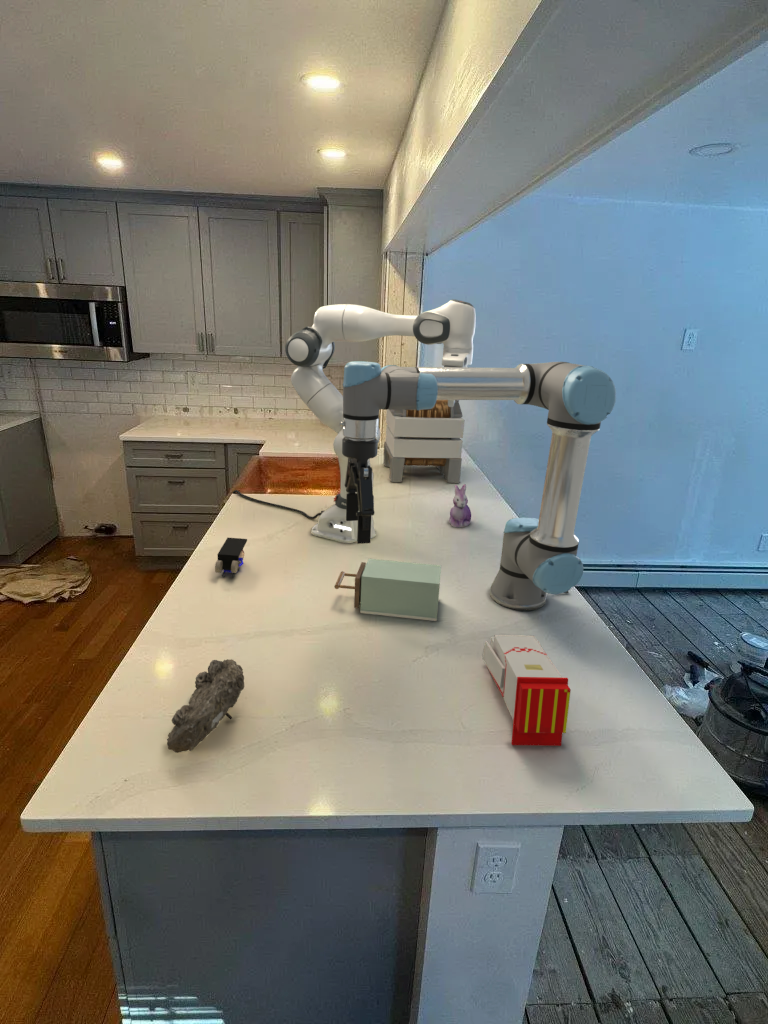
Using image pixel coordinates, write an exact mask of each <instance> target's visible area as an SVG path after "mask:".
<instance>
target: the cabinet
mask: <svg viewBox="0 0 768 1024" xmlns="http://www.w3.org/2000/svg"><path fill="white" fill-rule="evenodd" d="M441 573H442V565H441V564H430V563H420V562H409V561H402V560H401V561H400V560H390V559H389V560H388V559H378V558H368V559H367V561H366V567H365V569H364V572H363V574H362V581H361V603H360V614H366V615H375V616H386V617H394V618H403V619H404V618H406V619H414V620H421V621H422V620H424V621H433V622H437V620H438V611H439V601H440V599H439V598H440V588H441V587H440V586H441V576H442V575H441Z"/></svg>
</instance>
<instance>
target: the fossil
mask: <svg viewBox="0 0 768 1024" xmlns="http://www.w3.org/2000/svg"><path fill="white" fill-rule="evenodd" d="M243 670H244V669H243V667H242V665H240V664H237V662H236V661H235V660H234V659H232V658H231V659H227V658H226V659H224V660H223V661H222V660H217V659H212V660H211V661H210V663H209V665H208V666H207V671H201V672H199V673H198V674H197V675H196V676H195V680H194V684H195V685H194V687H195V689H194V690H193V693H192V694H191V697H190V698H189V700H188V704H184V705H182V706H181V707H180V709H177V710H176V711H175V713H174V715H173V716H172V718H171V723H172V724H173V727H172V730H171V731H170V732H168V734H167V738H166V741H167V742H166V745H167V749H168V750H169V751H173V752H174V753H176V754H178V753H182V752H188V751H189V752H192V751H193V750H195V748H196V747H197V746H199V744H200V743H201V742H203V741H204V740H205V739H206V738H207V737H208V736H209V735H210V734H211V733H212V732H214V730H215V729H217V727H218V726H219V724H220V722H221V721H222V720H223V719H224V718H225V716H226V717H227V719H229V720H233V717H232V715H230V714H229V710H230V709H231V708H234V706H235V704H236V703H237V702H238V699H239V697H240V695H241V693H242V691H243V690H245V689H244V688H245V675H244V671H243Z"/></svg>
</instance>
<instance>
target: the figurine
mask: <svg viewBox="0 0 768 1024" xmlns="http://www.w3.org/2000/svg"><path fill="white" fill-rule="evenodd" d="M453 488H454V496H453V498H452V503H453V506H452V507H451V508H450V511H449V518H448V519H449V520H448V523H449V524H450V525H451V527H454V528H464V527H468V526H469V525H470V524H471V520H472V511H471V508H470V506H469V505H468V503H469V499H468V497H467V495H466V490H467V484H465V483H464V484H463V485H462V486H461V488H459V486H458V485H457V484H454V487H453Z"/></svg>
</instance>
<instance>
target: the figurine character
mask: <svg viewBox="0 0 768 1024" xmlns="http://www.w3.org/2000/svg"><path fill="white" fill-rule="evenodd" d="M247 542H248V538H240V537H226V539H225V541H224V543H223V544H222V546H221V547H220V549H219V551H218V552H217V560H216V562H215V564H214V572H215V573H221V577H222V578H224V577H225V576H226V574H227V573H230V574H231V573H232V574H231V578H234V577H235V575H236V573H237V572H239V571H240V567H242V566H243V565H244V564H245V562H244V558H245V551H244V547H245V546H246V544H247Z"/></svg>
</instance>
